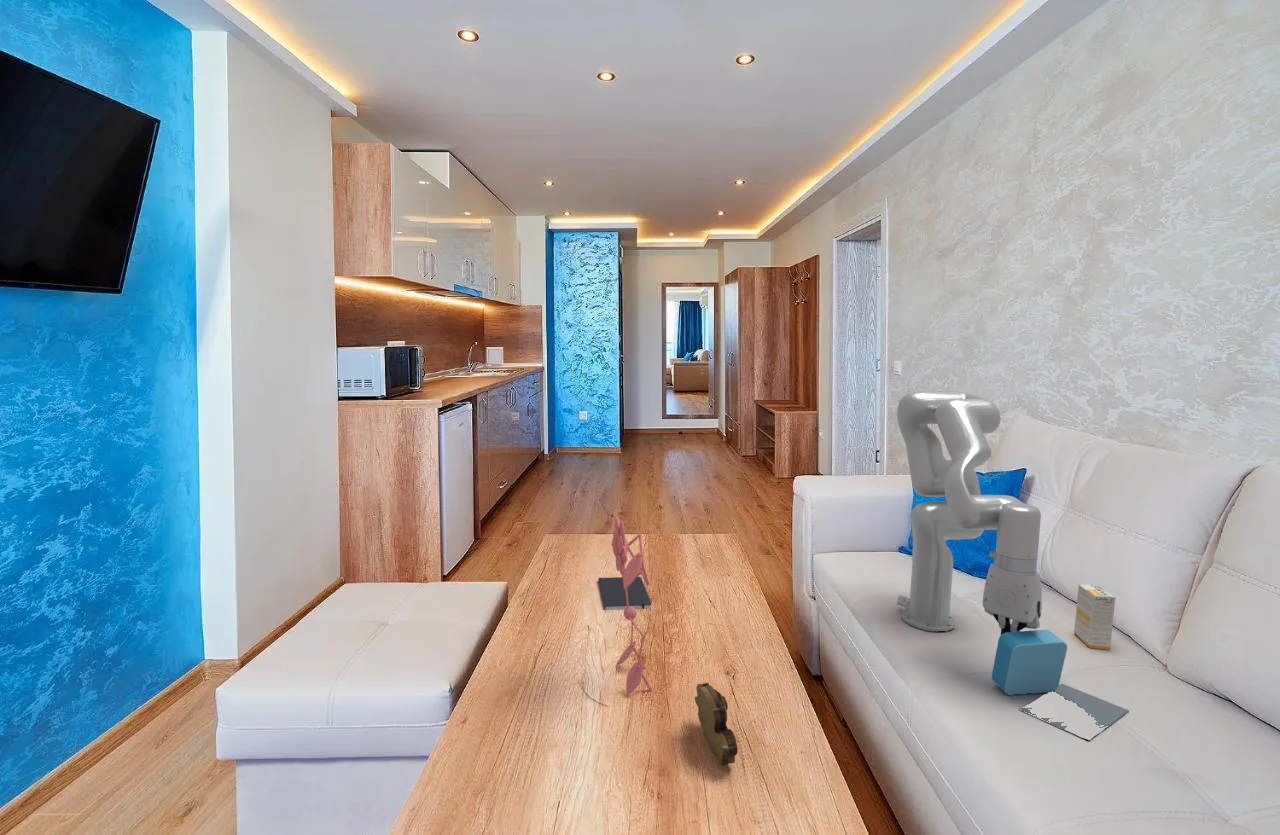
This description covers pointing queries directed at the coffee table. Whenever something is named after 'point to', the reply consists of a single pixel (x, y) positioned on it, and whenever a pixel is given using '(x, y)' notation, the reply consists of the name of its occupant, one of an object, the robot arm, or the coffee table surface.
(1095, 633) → the supplement box
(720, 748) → the wooden carving
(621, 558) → the pink leafy sprig
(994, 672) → the data package
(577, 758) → the coffee table surface
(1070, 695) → the mat
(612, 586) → the notebook
